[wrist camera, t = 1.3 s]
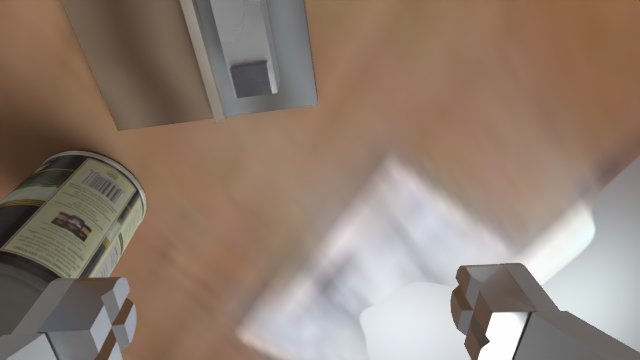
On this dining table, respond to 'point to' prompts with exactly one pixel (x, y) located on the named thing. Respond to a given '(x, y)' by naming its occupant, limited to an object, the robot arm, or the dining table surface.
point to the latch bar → (247, 46)
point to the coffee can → (64, 227)
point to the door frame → (183, 60)
